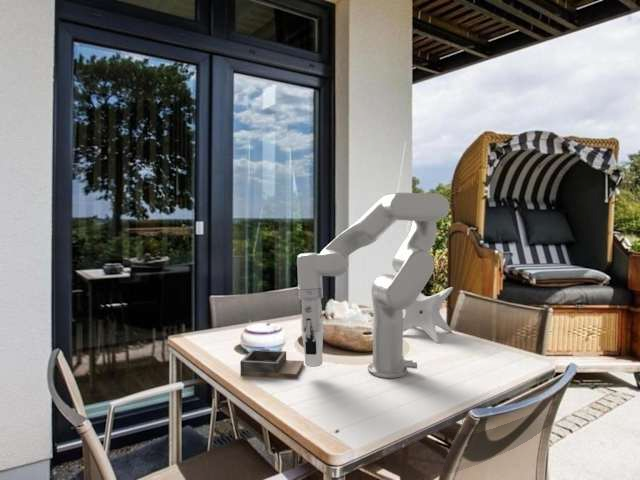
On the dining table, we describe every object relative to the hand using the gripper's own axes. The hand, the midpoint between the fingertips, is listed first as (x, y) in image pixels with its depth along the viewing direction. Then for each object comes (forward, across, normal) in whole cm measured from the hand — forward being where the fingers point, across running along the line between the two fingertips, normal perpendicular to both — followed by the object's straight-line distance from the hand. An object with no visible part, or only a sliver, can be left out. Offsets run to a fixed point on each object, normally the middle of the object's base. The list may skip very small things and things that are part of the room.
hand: (313, 349), depth 132 cm
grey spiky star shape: (+12, +56, -38) cm, 69 cm away
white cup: (+5, 0, 0) cm, 5 cm away
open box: (+8, +4, +14) cm, 17 cm away
